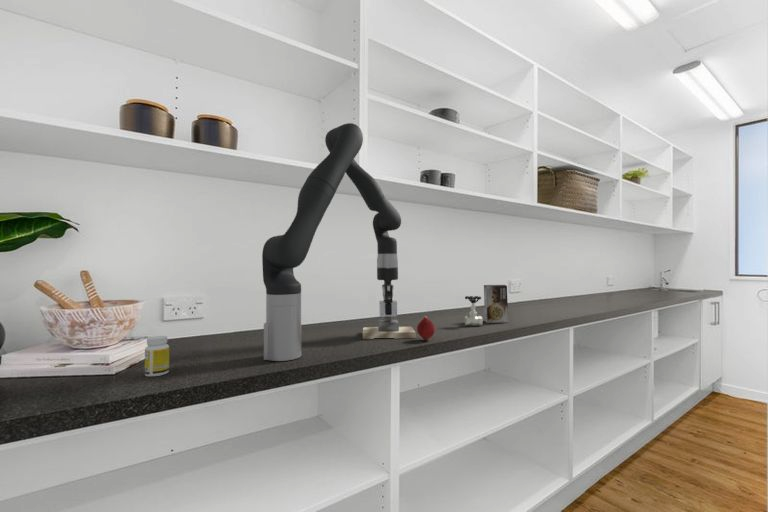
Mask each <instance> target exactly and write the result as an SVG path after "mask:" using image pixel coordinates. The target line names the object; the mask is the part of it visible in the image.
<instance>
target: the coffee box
mask: <svg viewBox="0 0 768 512" xmlns="http://www.w3.org/2000/svg"><path fill="white" fill-rule="evenodd" d="M483 297H484V298H483V300H484V303H483V304H484V322H486V323H487V324H488V323H489V324H490V323H491V324H493V323H494V324H495V323H497V324H498V323H501V324H502V323H505V324H507V323H509V307H508V305H509V304H508V286H507V285H506V284H484V285H483Z"/></svg>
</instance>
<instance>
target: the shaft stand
mask: <svg viewBox="0 0 768 512" xmlns="http://www.w3.org/2000/svg"><path fill="white" fill-rule="evenodd" d="M387 299H390V298H387ZM416 334H417V333H416V331H415V330H414V328H413V327H412V326H400V322H399V321H398V319H392V316H385V317H384V319H378V321H377V326H368V327H367V326H366V327H365V326H364V327H363V328H362V340H375V339H374V338H394V339H416Z"/></svg>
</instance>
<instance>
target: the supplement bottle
mask: <svg viewBox="0 0 768 512" xmlns="http://www.w3.org/2000/svg"><path fill="white" fill-rule="evenodd" d="M169 372H170V345H169V344H168V336H167V335H156V336H155V335H154V336H149V337H147V338H146V346H145V348H144V376H145V377H149V378H150V377H159V376H163V375H166V374H168V373H169Z"/></svg>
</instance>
